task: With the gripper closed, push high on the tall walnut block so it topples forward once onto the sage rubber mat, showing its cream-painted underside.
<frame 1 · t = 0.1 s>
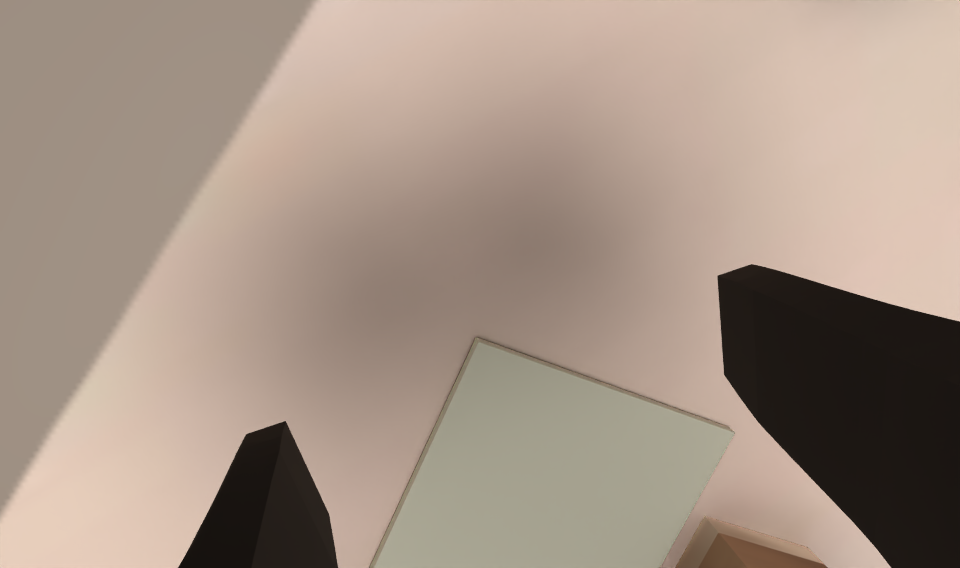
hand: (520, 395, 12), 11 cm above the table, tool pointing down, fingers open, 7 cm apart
sage mat: (534, 534, 25), on the table
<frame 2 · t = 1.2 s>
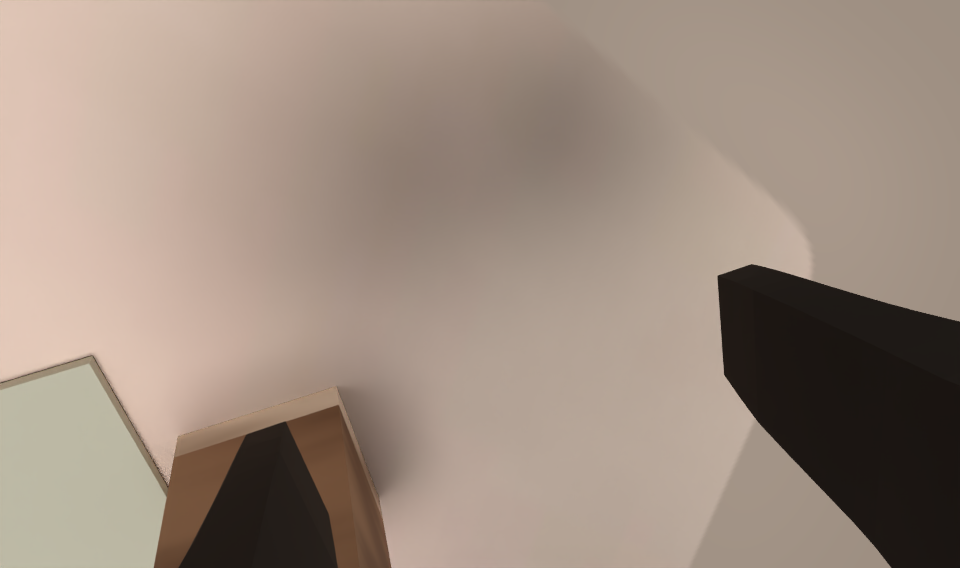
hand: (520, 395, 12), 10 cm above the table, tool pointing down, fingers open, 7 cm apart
sage mat: (18, 557, 23), on the table
walnut block: (284, 469, 24), on the table
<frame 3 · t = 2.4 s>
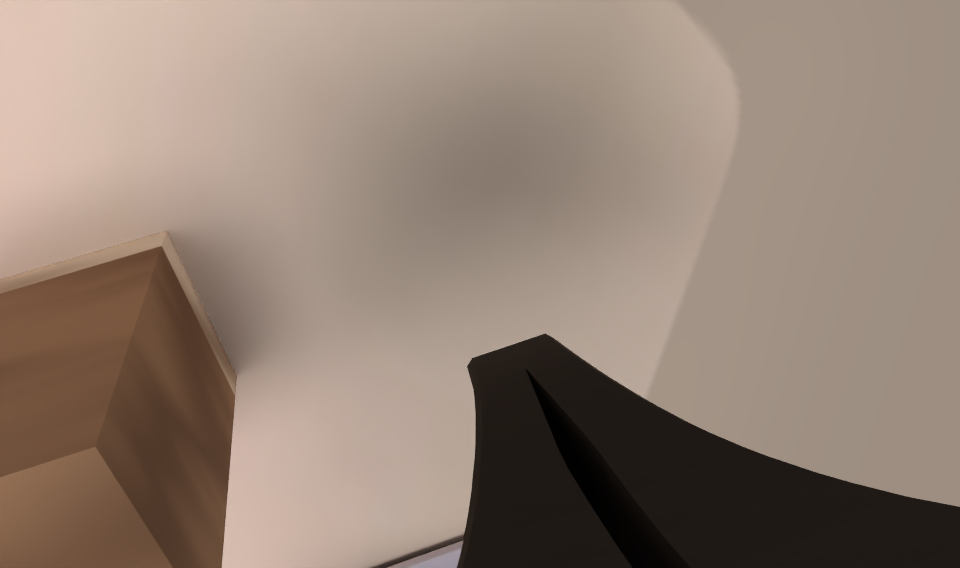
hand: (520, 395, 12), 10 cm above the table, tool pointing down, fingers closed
walnut block: (115, 335, 20), on the table
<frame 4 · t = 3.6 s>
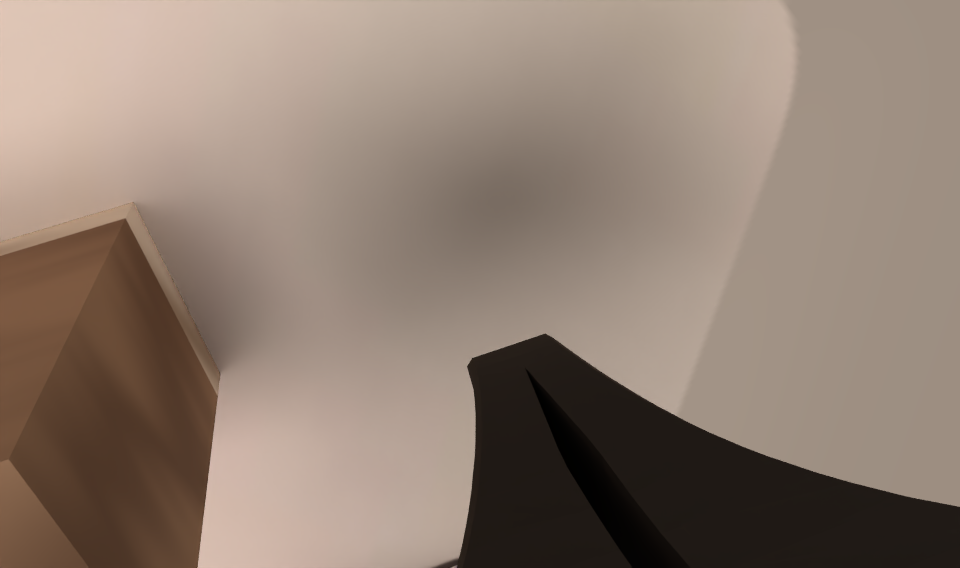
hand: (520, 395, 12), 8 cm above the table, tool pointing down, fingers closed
walnut block: (77, 326, 18), on the table
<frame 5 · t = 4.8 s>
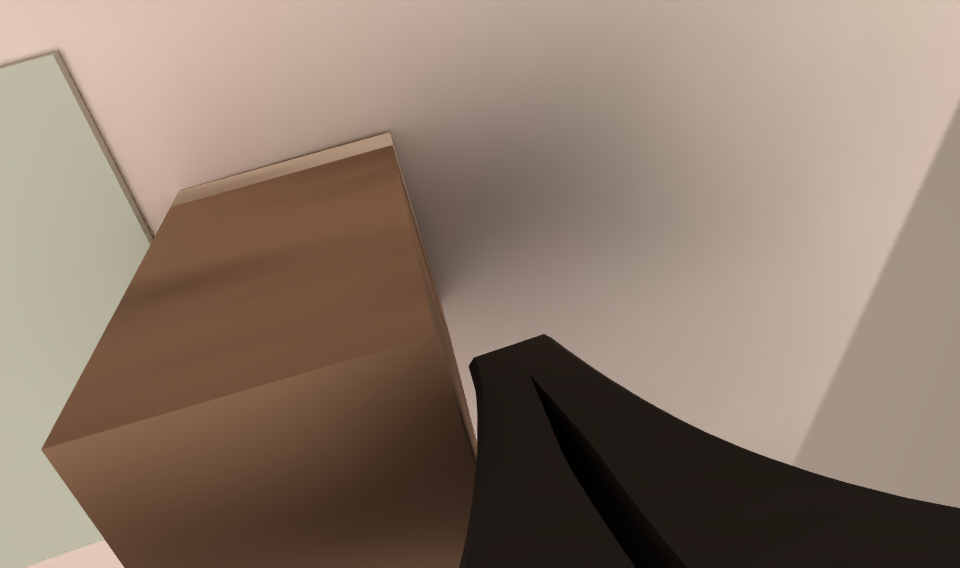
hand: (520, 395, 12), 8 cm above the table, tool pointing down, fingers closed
walnut block: (320, 254, 18), on the table
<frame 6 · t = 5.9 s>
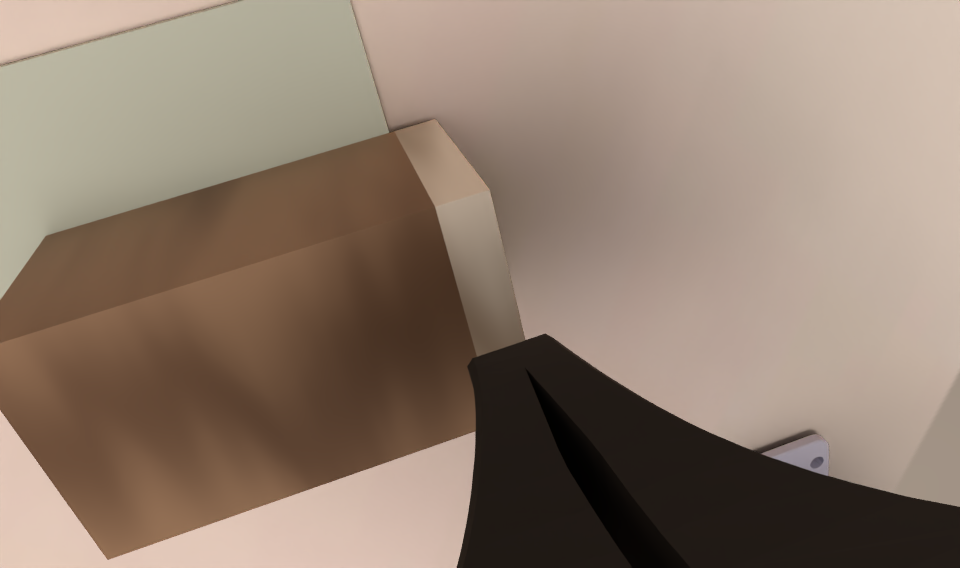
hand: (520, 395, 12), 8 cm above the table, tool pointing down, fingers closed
sage mat: (220, 283, 18), on the table
walnut block: (485, 255, 16), point 3 cm above the table, tilted 90°, touching sage mat
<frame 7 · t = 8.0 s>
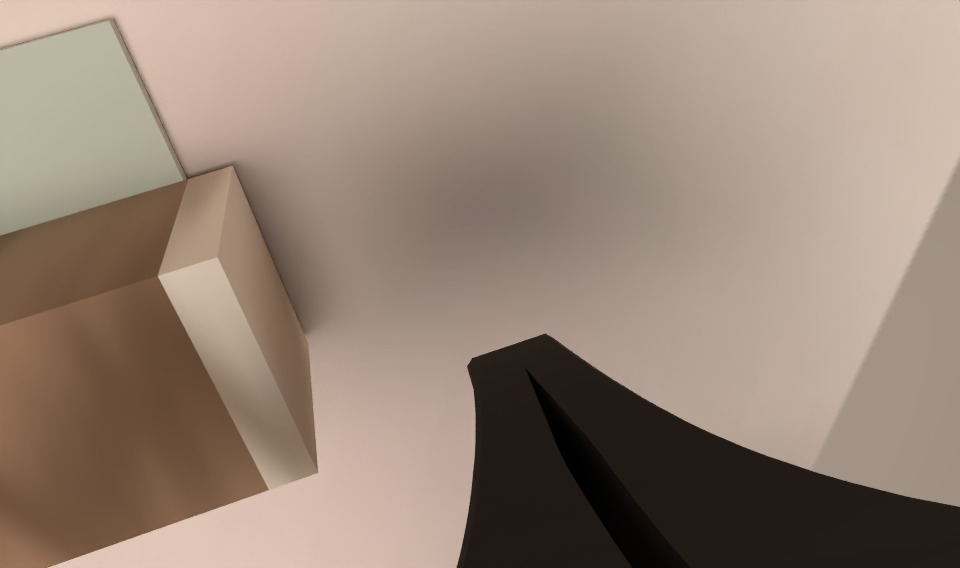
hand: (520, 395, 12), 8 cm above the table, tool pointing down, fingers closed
sage mat: (21, 333, 17), on the table
walnut block: (272, 310, 15), point 3 cm above the table, tilted 90°, touching sage mat
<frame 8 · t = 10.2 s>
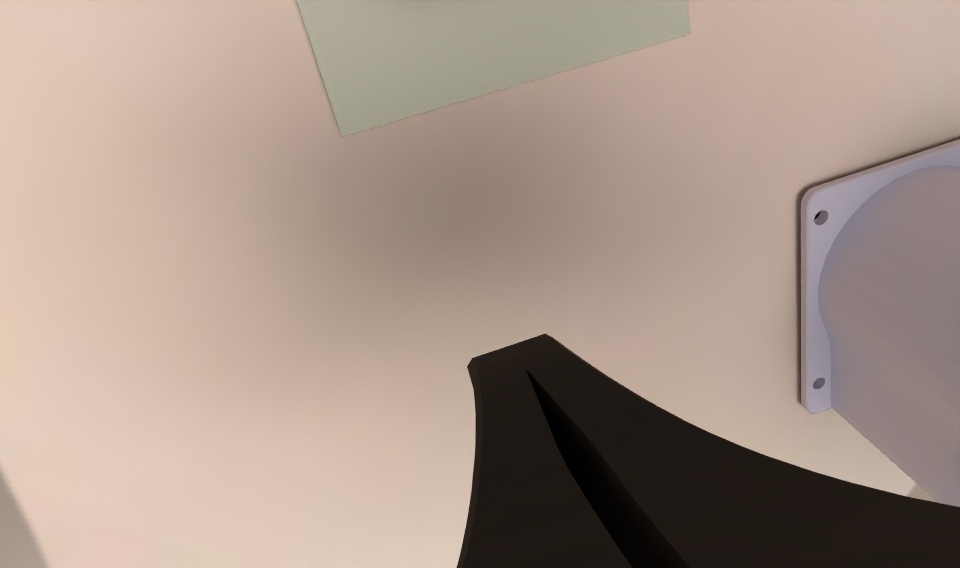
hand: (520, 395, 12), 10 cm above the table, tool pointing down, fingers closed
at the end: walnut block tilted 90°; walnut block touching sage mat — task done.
